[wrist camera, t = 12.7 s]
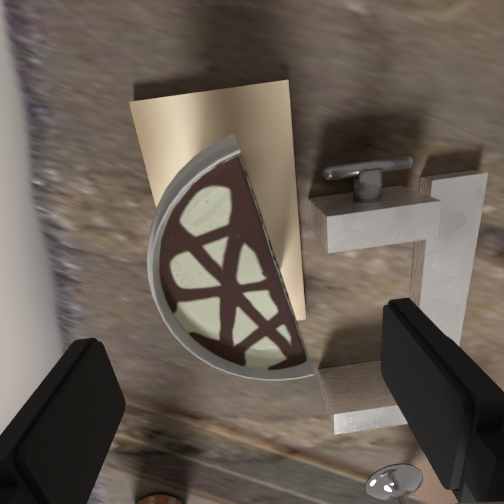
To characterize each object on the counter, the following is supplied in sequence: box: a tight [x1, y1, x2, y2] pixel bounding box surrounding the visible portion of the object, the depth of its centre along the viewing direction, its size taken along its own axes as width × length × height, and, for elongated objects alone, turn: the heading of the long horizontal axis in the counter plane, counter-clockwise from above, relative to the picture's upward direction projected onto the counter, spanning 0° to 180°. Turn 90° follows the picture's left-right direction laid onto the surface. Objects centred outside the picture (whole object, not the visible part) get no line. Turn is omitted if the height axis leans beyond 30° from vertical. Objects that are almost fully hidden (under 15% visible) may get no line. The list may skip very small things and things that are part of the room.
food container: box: [147, 133, 314, 381], centre depth 18 cm, size 12×6×10 cm, turn 18°
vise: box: [308, 155, 488, 434], centre depth 24 cm, size 12×22×5 cm, turn 7°
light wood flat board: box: [129, 80, 306, 320], centre depth 23 cm, size 10×18×1 cm, turn 7°
